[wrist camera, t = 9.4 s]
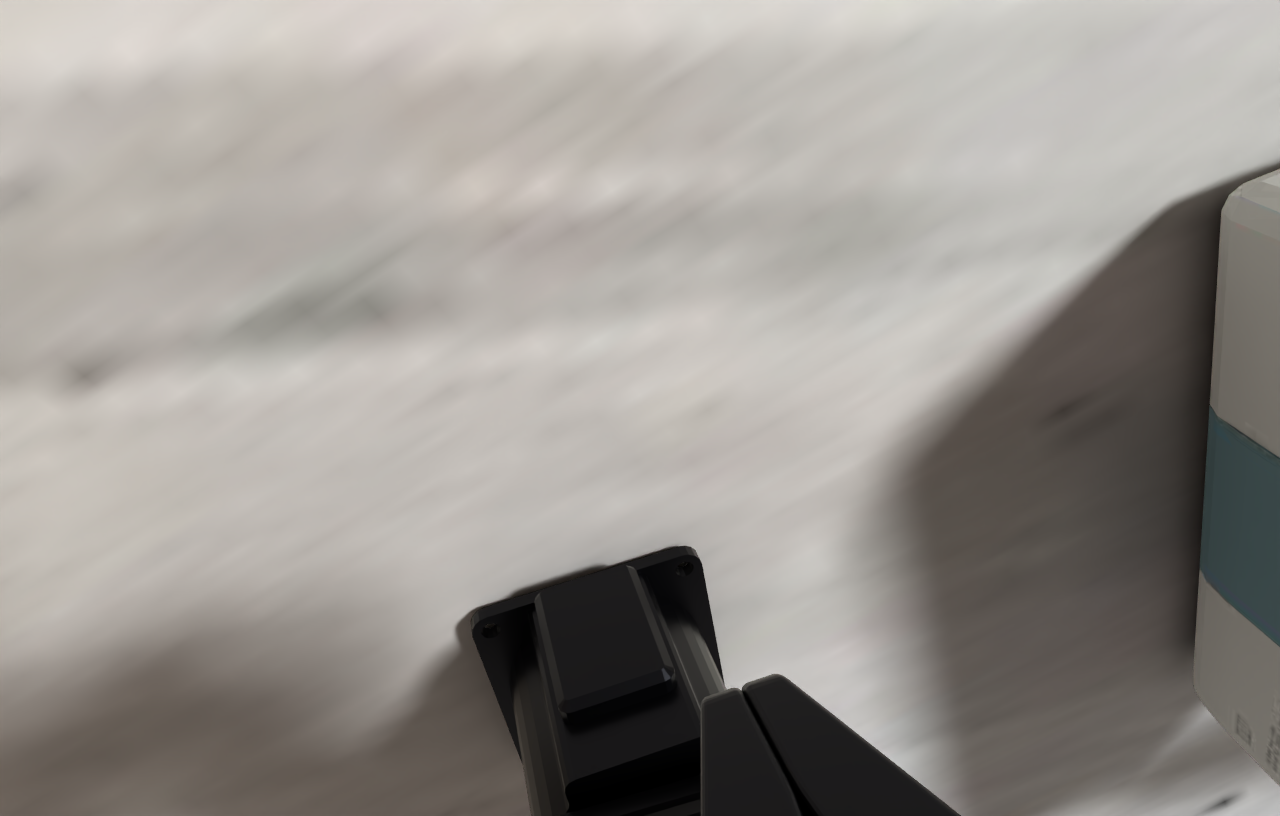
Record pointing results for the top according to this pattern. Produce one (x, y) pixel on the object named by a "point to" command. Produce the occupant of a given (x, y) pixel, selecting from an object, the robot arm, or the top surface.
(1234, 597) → the stereo radio cassette player
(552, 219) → the top surface
